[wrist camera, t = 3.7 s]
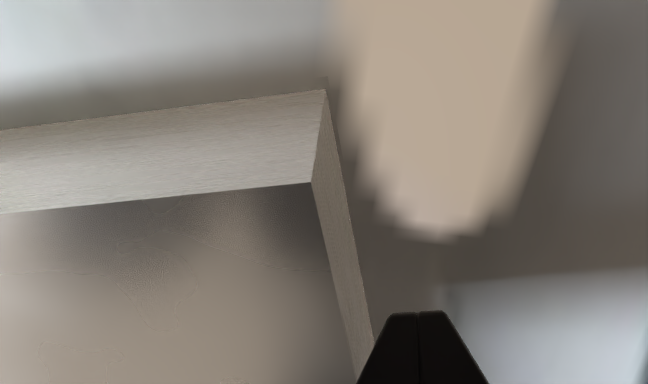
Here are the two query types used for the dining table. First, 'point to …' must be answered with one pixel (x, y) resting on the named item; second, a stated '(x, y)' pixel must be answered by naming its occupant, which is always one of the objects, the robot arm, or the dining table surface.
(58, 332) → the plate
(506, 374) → the dining table surface
